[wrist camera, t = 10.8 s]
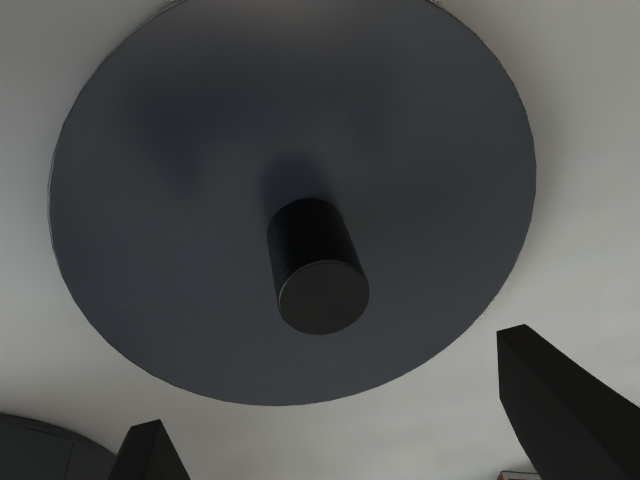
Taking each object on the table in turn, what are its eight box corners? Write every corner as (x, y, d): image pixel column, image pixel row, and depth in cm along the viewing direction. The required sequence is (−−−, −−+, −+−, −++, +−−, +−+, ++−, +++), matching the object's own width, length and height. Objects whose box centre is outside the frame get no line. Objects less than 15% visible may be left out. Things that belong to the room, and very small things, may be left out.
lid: (-50, 54, 15) (-135, 114, 11) (506, -104, 15) (605, -96, 12) (164, 428, 23) (156, 537, 19) (530, 321, 23) (594, 409, 19)
